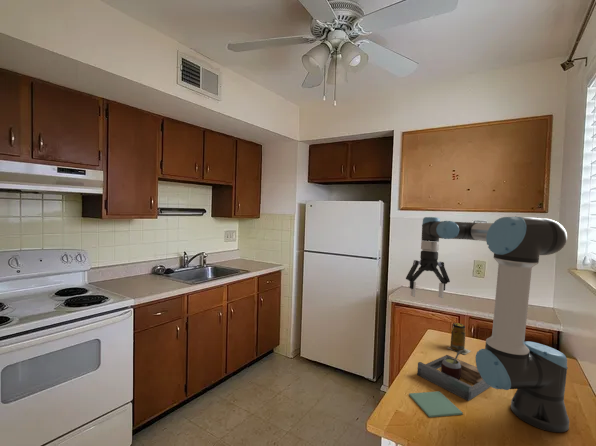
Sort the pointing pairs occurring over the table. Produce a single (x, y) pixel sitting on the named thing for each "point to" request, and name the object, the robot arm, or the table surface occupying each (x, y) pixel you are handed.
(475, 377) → the offcut stack
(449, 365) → the mate gourd
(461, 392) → the tray
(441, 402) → the green mat
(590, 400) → the table surface
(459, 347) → the condiment
